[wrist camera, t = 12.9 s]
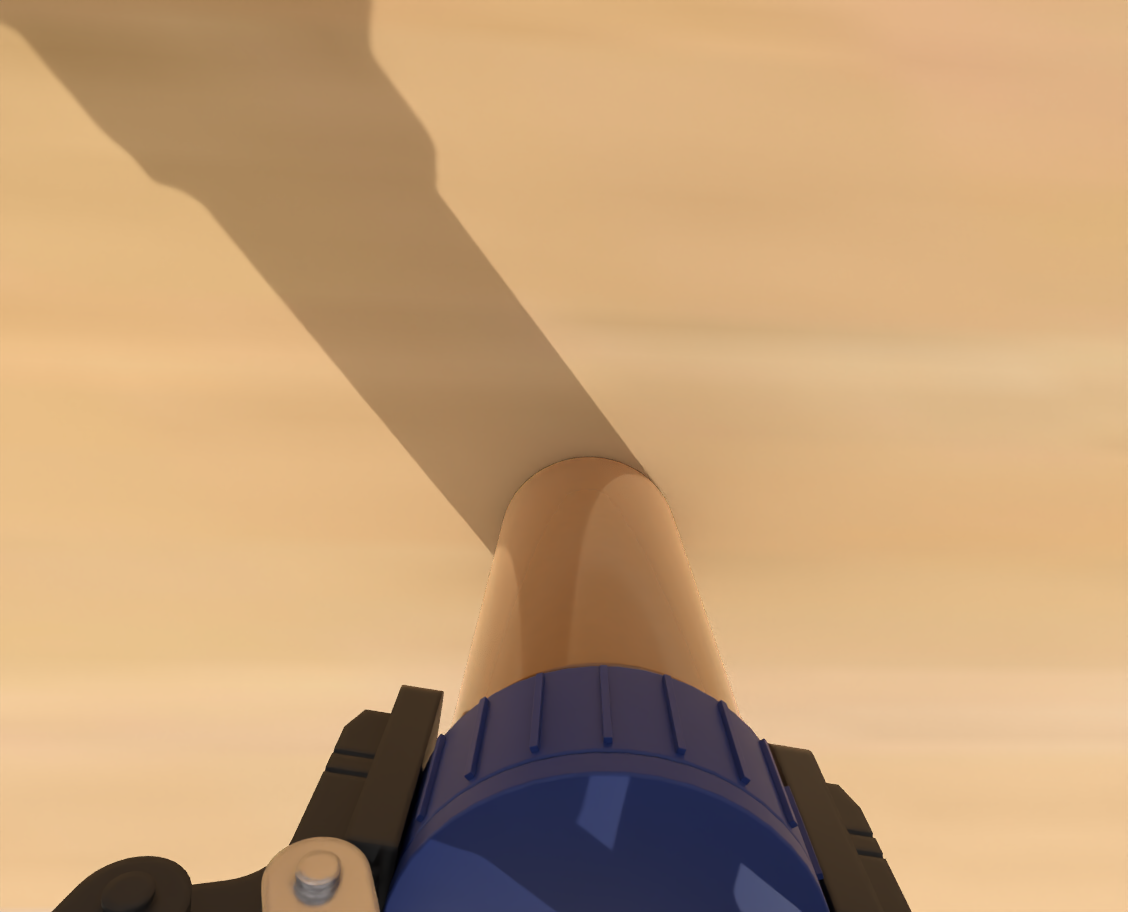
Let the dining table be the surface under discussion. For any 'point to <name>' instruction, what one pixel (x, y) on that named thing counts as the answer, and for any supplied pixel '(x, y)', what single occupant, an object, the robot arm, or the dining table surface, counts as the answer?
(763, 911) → the lid
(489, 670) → the jar
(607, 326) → the dining table surface
